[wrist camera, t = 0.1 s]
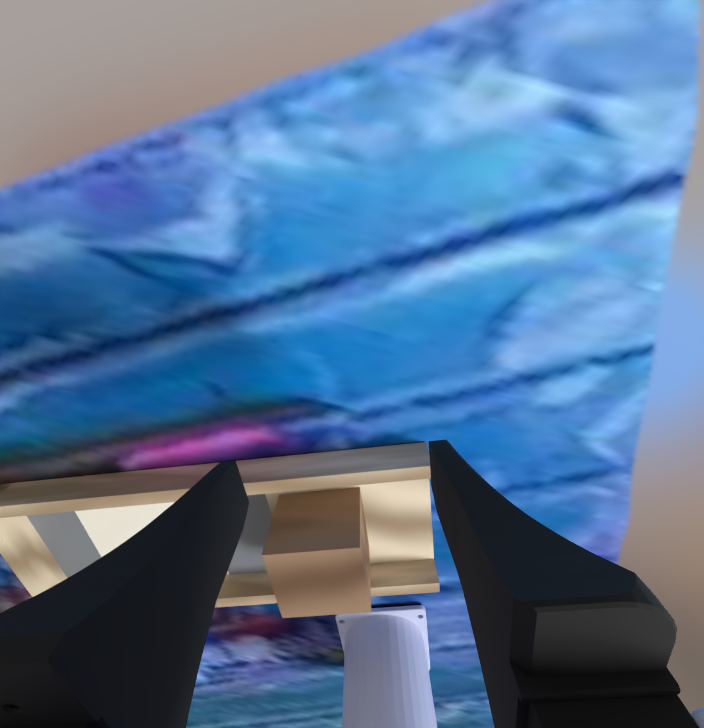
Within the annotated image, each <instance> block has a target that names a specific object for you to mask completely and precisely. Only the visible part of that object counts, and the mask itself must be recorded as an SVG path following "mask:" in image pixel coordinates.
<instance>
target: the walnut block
mask: <svg viewBox="0 0 704 728" xmlns="http://www.w3.org/2000/svg"><path fill="white" fill-rule="evenodd" d="M262 558H263V561H264V564H265V567H266V570H267V573H268V576H269V579H270V582H271V585H272V588H273V591H274V594H275V597H276V600H277V603H278V606H279V609H280V612H281V615H282V618H292V617H307V616H322V615H337V614H352V613H367V612H371V586H370V554H369V541H368V535H367V529H366V523H365V516H364V510H363V504H362V498H361V491H360V487H357V488H346V489H335V490H324V491H313V492H302V493H291V494H280V495H279V497H278V500H277V504H276V507H275V510H274V514H273V517H272V521H271V524H270V528H269V531H268V535H267V538H266V542H265V545H264V549H263V552H262Z"/></svg>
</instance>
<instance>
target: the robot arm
mask: <svg viewBox="0 0 704 728" xmlns="http://www.w3.org/2000/svg"><path fill="white" fill-rule="evenodd" d="M429 455H430V471H431V486H432V491H433V496H434V500H435V505H436V509H437V513H438V516H439V519H440V522H441V525H442V528H443V531H444V534H445V537H446V540H447V543H448V546H449V548H450V551H451V554H452V557H453V560H454V563H455V566H456V569H457V572H458V575H459V578H460V582H461V585H462V589H463V593H464V597H465V601H466V605H467V609H468V613H469V617H470V621H471V626H472V630H473V634H474V638H475V642H476V647H477V651H478V655H479V659H480V664H481V668H482V673H483V677H484V681H485V686H486V690H487V695H488V699H489V704H490V708H491V713H492V717H493V722H494V726H495V728H704V708H701V709H698V710H696V711H694V712H693V713H692V714H691V715H690V713H689V712H688V710H687V709H686V707H685V706H684V704H683V703H682V701H681V700H680V698H679V697H678V695H677V694H679V693H680V688H679V685H678V683H677V682H676V680H675V679H674V677H673V676H672V675H671V673H670V672H669V670H668V669H667V667H666V666H667V663H668V660H669V657H670V655H671V652H672V649H673V647H674V644H675V639H676V632H677V627H676V625H675V622H674V619H673V618H672V617H671V615H670V614H669V613H668V612H667V610H666V609H665V608H664V606H663V605H662V604H661V603H660V601H659V600H658V599H657V598H656V596H655V595H654V594H653V593H652V592H651V590H650V589H649V588H648V587H647V586H646V585H645V584H644V583H643V582H642V581H641V580H640V578H639V577H638V576H637V575H636V574H635V573H634V572H632V571H629V570H627V569H625V568H623V567H621V566H619V565H617V564H615V563H612V562H610V561H608V560H606V559H604V558H602V557H600V556H597V555H595V554H593V553H591V552H589V551H587V550H586V549H584V548H582V547H580V546H578V545H576V544H574V543H573V542H571V541H569V540H567V539H565V538H564V537H562V536H560V535H558V534H557V533H555V532H554V531H552V530H550V529H549V528H547V527H546V526H544V525H542V524H541V523H539V522H538V521H536V520H534V519H533V518H531V517H530V516H528V515H527V514H526V513H524V512H523V511H521V510H520V509H519V508H517V507H516V506H515V505H513V504H512V503H511V502H510V501H508V500H507V499H506V498H505V497H503V496H502V495H501V494H500V493H499V492H497V491H496V490H495V489H494V488H493V487H492V486H491V485H489V484H488V483H487V482H486V481H485V480H484V479H483V478H482V477H481V476H480V475H479V474H478V473H477V472H476V471H475V470H474V469H473V468H472V467H471V466H470V465H469V464H468V463H467V462H466V461H465V460H464V459H463V458H462V457H461V456H460V455H459V453H458V452H457V451H456V450H455V449H454V448H453V447H452V445H451V444H450V443H449V442H448V441H447V440H438V441H429ZM248 506H249V500H248V497H247V494H246V491H245V488H244V485H243V482H242V479H241V476H240V472H239V469H238V466H237V463H236V461H230V462H220V463H219V464H218V465H216V466H215V467H214V468H213V469H212V470H210V471H209V472H208V473H207V474H206V475H205V476H204V477H203V478H201V479H200V480H199V481H198V482H197V483H196V484H195V485H194V486H193V487H191V488H190V489H189V490H188V491H187V492H186V493H185V494H184V495H183V496H181V497H180V498H179V499H178V500H177V501H176V502H175V503H173V504H172V505H171V506H170V507H169V508H167V509H166V510H165V511H164V512H163V513H161V514H160V515H159V516H158V517H157V518H155V519H154V520H153V521H152V522H150V523H149V524H148V525H147V526H145V527H144V528H143V529H141V530H140V531H139V532H137V533H136V534H135V535H133V536H132V537H131V538H129V539H128V540H126V541H125V542H124V543H122V544H121V545H119V546H118V547H116V548H115V549H113V550H112V551H110V552H109V553H107V554H106V555H104V556H103V557H101V558H99V559H98V560H96V561H95V562H93V563H92V564H90V565H89V566H87V567H85V568H84V569H82V570H80V571H79V572H77V573H75V574H74V575H72V576H70V577H69V578H67V579H65V580H63V581H62V582H60V583H58V584H56V585H54V586H53V587H51V588H49V589H47V590H45V591H43V592H42V593H40V594H38V595H36V596H34V597H32V598H30V599H28V600H26V601H24V602H22V603H20V604H18V605H16V606H14V607H12V608H10V609H8V610H6V611H4V612H2V613H0V728H186V724H187V719H188V714H189V709H190V705H191V700H192V696H193V691H194V687H195V682H196V678H197V673H198V669H199V665H200V661H201V657H202V653H203V649H204V645H205V641H206V637H207V633H208V630H209V626H210V622H211V619H212V615H213V611H214V608H215V604H216V601H217V598H218V595H219V592H220V590H221V587H222V584H223V582H224V579H225V576H226V574H227V571H228V568H229V566H230V563H231V561H232V558H233V555H234V553H235V550H236V547H237V545H238V542H239V539H240V537H241V534H242V531H243V528H244V524H245V520H246V516H247V511H248ZM336 622H337V626H338V631H339V635H340V639H341V643H342V647H343V651H344V656H345V657H344V687H343V717H342V728H437V723H436V717H435V710H434V704H433V697H432V691H431V684H430V678H429V670H430V660H429V647H428V635H427V622H426V611H425V607H424V606H422V605H413V606H398V607H383V608H371V612H367V613H352V614H337V615H336Z"/></svg>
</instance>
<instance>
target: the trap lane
mask: <svg viewBox="0 0 704 728" xmlns="http://www.w3.org/2000/svg"><path fill="white" fill-rule="evenodd" d="M229 462H230V461H229ZM219 463H220V462H219ZM219 463H209V464H199V465H189V466H179V467H169V468H159V469H148V470H138V471H128V472H118V473H108V474H98V475H88V476H78V477H68V478H58V479H47V480H37V481H27V482H17V483H7V484H1V485H0V554H1V555H2V557H3V558H4V559H5V561H6V562H7V563H8V565H9V566H10V567H11V569H12V570H13V571H14V573H15V574H16V576H17V577H18V578H19V580H20V581H21V582H22V584H23V585H24V586H25V588H26V589H27V590H28V592H29V593H30V594H31V596H32V597H34V596H36V595H38V594H40V593H42V592H43V591H45V590H47V589H49V588H51V587H53V586H54V585H56V584H58V583H60V582H62V581H63V580H65V579H67V578H69V577H70V576H72V575H74V574H75V573H77V572H79V571H80V570H82V569H84V568H85V567H87V566H89V565H90V564H92V563H93V562H95V561H96V560H98V559H99V558H101V557H103V556H104V555H106V554H107V553H109V552H110V551H112V550H113V549H115V548H116V547H118V546H119V545H121V544H122V543H124V542H125V541H126V540H128V539H129V538H131V537H132V536H133V535H135V534H136V533H137V532H139V531H140V530H141V529H143V528H144V527H145V526H147V525H148V524H149V523H150V522H152V521H153V520H154V519H155V518H157V517H158V516H159V515H160V514H161V513H163V512H164V511H165V510H166V509H167V508H169V507H170V506H171V505H172V504H173V503H175V502H176V501H177V500H178V499H179V498H180V497H181V496H183V495H184V494H185V493H186V492H187V491H188V490H189V489H190V488H191V487H193V486H194V485H195V484H196V483H197V482H198V481H199V480H200V479H201V478H203V477H204V476H205V475H206V474H207V473H208V472H209V471H210V470H212V469H213V468H214V467H215V466H216V465H218V464H219ZM236 463H237V466H238V469H239V472H240V476H241V479H242V482H243V485H244V488H245V491H246V494H247V497H248V500H249V506H248V511H247V516H246V520H245V524H244V528H243V531H242V534H241V537H240V539H239V542H238V545H237V547H236V550H235V553H234V555H233V558H232V561H231V563H230V566H229V568H228V571H227V574H226V576H225V579H224V582H223V584H222V587H221V590H220V592H219V595H218V598H217V601H216V604H215V607H229V606H243V605H258V604H272V603H277V600H276V597H275V594H274V591H273V588H272V585H271V582H270V579H269V576H268V573H267V570H266V567H265V564H264V561H263V558H262V552H263V549H264V545H265V542H266V538H267V535H268V531H269V528H270V524H271V521H272V517H273V514H274V510H275V507H276V504H277V500H278V497H279V495H280V494H291V493H302V492H313V491H324V490H335V489H346V488H357V487H360V491H361V498H362V504H363V510H364V516H365V523H366V529H367V535H368V541H369V554H370V586H371V597H373V596H387V595H402V594H416V593H431V592H440V588H439V580H438V575H437V571H436V566H435V562H434V552H433V535H432V519H431V502H430V486H429V479H431V471H430V455H429V451H428V448H427V444H426V442H421V443H411V444H401V445H391V446H381V447H371V448H360V449H350V450H340V451H330V452H320V453H310V454H300V455H290V456H280V457H270V458H259V459H249V460H239V461H236Z"/></svg>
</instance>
